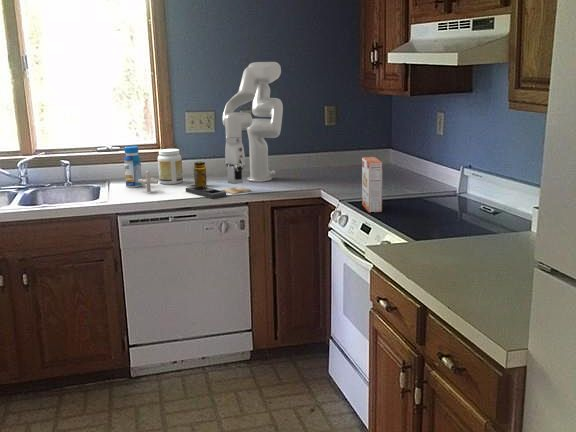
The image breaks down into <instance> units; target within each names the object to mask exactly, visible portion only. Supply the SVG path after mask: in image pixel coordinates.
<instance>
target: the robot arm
mask: <svg viewBox="0 0 576 432" xmlns="http://www.w3.org/2000/svg"><path fill="white" fill-rule="evenodd" d="M281 68H282V67H281V65H280V63H278V62H276V61H257V62H251V63H249V64H248V66H247V67H246V68H244V70H243V72H242V76H241V81H240V85H239V88H238V91H237V93H235V94H234V95H233V96H232V97H231V98H230V99H228V101H227V102H226V104H225V107H224V110H223V113H222V119H221V120H222V124H223V126H224V127H225V147H224V149H225V151H224V159H225V160H224V163H225V165H226V167H227V166H233V165H235V166H236V180H239V179H242V180H243V169H244V168H245V166H246V154H245V150H244V149H245V148H244V144H243V136H242V135H243V133H242V131H243V130H242V129H246V132H247V137H248V147H249V173H250V174H249V176H248V177H247V181H248V182H256V183H259V182H260V183H261V182H262V183H263V182H270V181H272V179H273V177H272V175H276V170H269V147H268V143H267V141H266V140H265V139H266V138H268V139H275V138H278V137H279V136H280V134H281V129H282V122H283V114H284V111H283V110H284V106H283V102H282V100H281V99H280V98H277V97H270V96H271V88H270V86H269V84H271V83H274V81H276V80H278V79H279V78H280V76H281V74H282V69H281ZM249 102H252V104H251V105H252V106H251V112H252V114H253V115H252V114H250V113H249V112H242V111H241V112H240V111H237V112H236V111H235V110H237V109H238V108H239V107H240V106H243V105H245V104H248V103H249ZM253 116H255V117H260V118H253ZM261 117H264V118H261ZM265 117H266V118H265ZM269 117H270V118H269ZM238 166H239V168H238Z"/></svg>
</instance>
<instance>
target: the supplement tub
mask: <svg viewBox="0 0 576 432" xmlns="http://www.w3.org/2000/svg"><path fill="white" fill-rule="evenodd" d="M182 161H183V160H182V156H181V154H180V149H179V148H165V149H164V148H163V149H160V150H158V156H157V168H158V169H157V170H158V183H160V184H162V185H178V184H181V183H182V182H183V181H184V175H183V162H182Z"/></svg>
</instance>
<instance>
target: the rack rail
mask: <svg viewBox="0 0 576 432" xmlns="http://www.w3.org/2000/svg"><path fill="white" fill-rule="evenodd" d="M221 190H222V189H216V188H211V187H209V186H205V187H204V186H194V187H190V186H188V187H185V193H188V194H192V195H197V196H199V197H203V198H208V199H219V198H224V197H227V192H225V191H221Z"/></svg>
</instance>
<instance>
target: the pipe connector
mask: <svg viewBox="0 0 576 432" xmlns="http://www.w3.org/2000/svg"><path fill="white" fill-rule="evenodd" d="M150 175H151V174H150V171H149V170H145V179H139V180H138V183H141V184H142V186H144V185H146V192H147V193H150V192H151V191H152V190H151V189H152V188H151V185H152V184H154V185H155V184H158V183H159V179H158V180H157V179H156V178H155V177H151V176H150ZM150 177H151V178H150Z"/></svg>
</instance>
